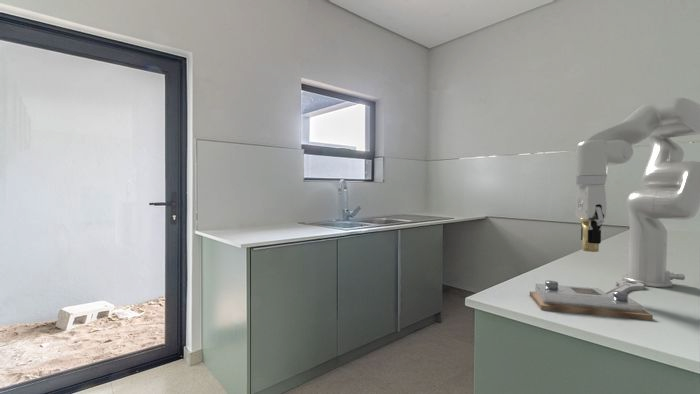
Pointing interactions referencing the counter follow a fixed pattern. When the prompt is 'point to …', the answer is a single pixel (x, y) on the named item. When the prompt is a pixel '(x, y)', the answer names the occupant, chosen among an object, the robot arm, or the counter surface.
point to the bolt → (587, 246)
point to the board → (591, 310)
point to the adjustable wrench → (625, 287)
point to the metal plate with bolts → (585, 297)
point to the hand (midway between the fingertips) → (590, 241)
